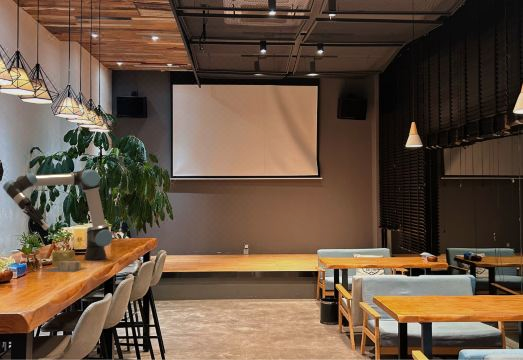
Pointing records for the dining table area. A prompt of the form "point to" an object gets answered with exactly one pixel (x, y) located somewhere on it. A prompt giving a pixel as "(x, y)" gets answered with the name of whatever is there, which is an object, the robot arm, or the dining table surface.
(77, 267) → the block
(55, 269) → the mat
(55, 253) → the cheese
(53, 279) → the dining table surface
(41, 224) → the robot arm
